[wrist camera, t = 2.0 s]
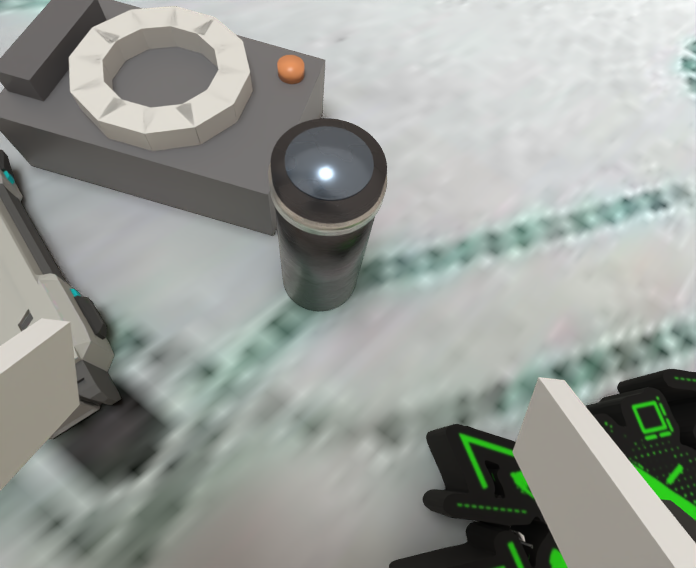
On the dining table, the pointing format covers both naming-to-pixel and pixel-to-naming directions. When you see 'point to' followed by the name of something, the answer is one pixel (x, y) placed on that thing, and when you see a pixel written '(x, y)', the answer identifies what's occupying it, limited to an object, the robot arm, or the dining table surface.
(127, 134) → the camera body
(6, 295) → the handgun
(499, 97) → the dining table surface
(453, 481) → the sign
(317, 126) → the lens
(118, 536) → the dining table surface
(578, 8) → the dining table surface
